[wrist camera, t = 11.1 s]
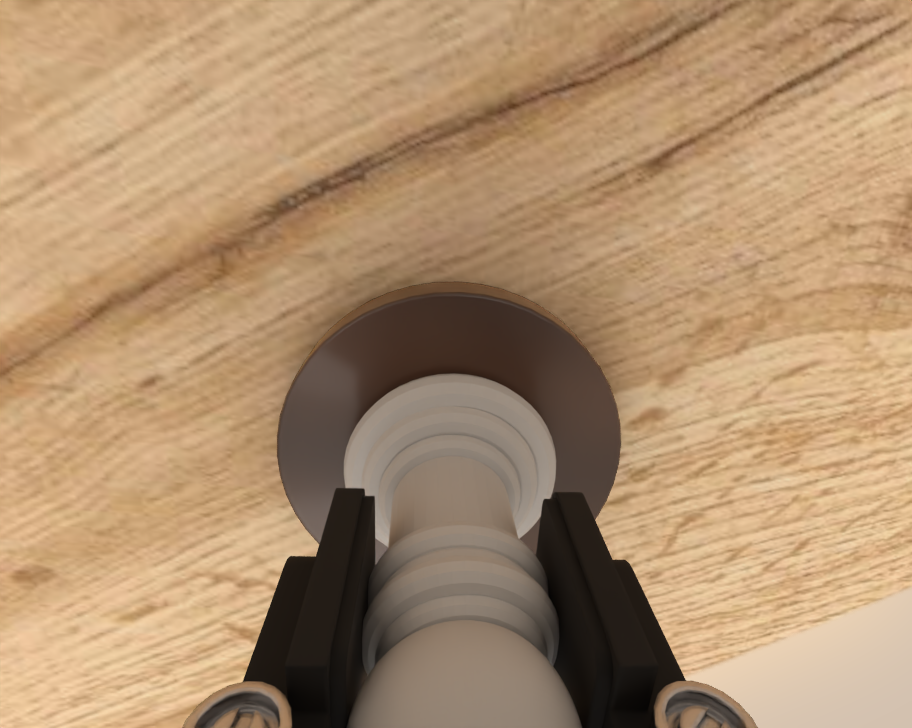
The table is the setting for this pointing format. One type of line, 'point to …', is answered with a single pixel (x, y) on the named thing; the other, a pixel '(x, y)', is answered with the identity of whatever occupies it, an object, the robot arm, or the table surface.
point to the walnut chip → (445, 352)
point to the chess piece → (457, 560)
